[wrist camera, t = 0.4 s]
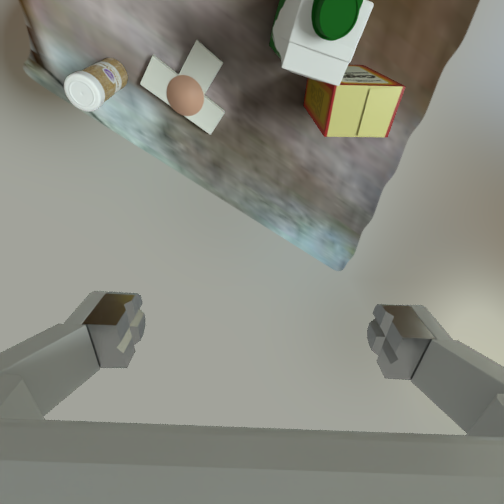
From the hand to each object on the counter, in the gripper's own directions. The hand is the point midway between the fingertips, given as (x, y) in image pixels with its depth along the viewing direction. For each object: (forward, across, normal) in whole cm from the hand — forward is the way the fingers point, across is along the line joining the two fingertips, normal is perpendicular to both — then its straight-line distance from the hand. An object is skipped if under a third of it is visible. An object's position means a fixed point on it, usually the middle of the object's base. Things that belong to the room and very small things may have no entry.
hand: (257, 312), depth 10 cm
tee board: (+48, +12, -8) cm, 51 cm away
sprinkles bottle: (+48, +24, -10) cm, 54 cm away
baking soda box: (+50, -13, -10) cm, 53 cm away
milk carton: (+48, -6, -17) cm, 51 cm away
